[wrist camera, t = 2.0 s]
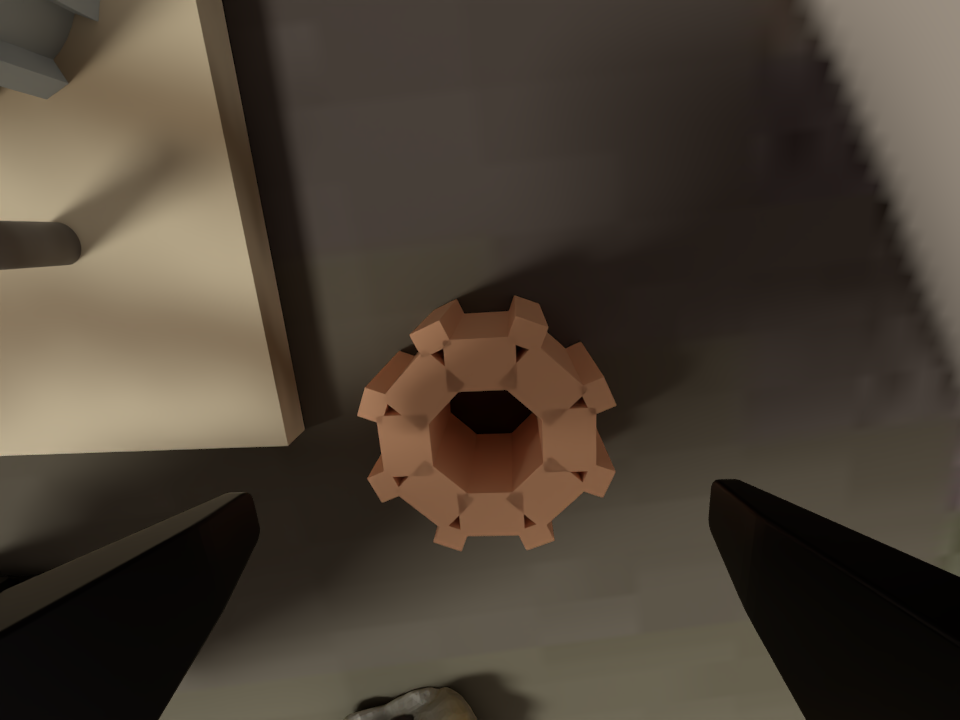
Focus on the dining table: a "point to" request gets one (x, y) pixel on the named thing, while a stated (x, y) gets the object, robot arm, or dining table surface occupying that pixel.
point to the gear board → (138, 248)
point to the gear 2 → (489, 457)
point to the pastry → (420, 707)
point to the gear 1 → (37, 42)
